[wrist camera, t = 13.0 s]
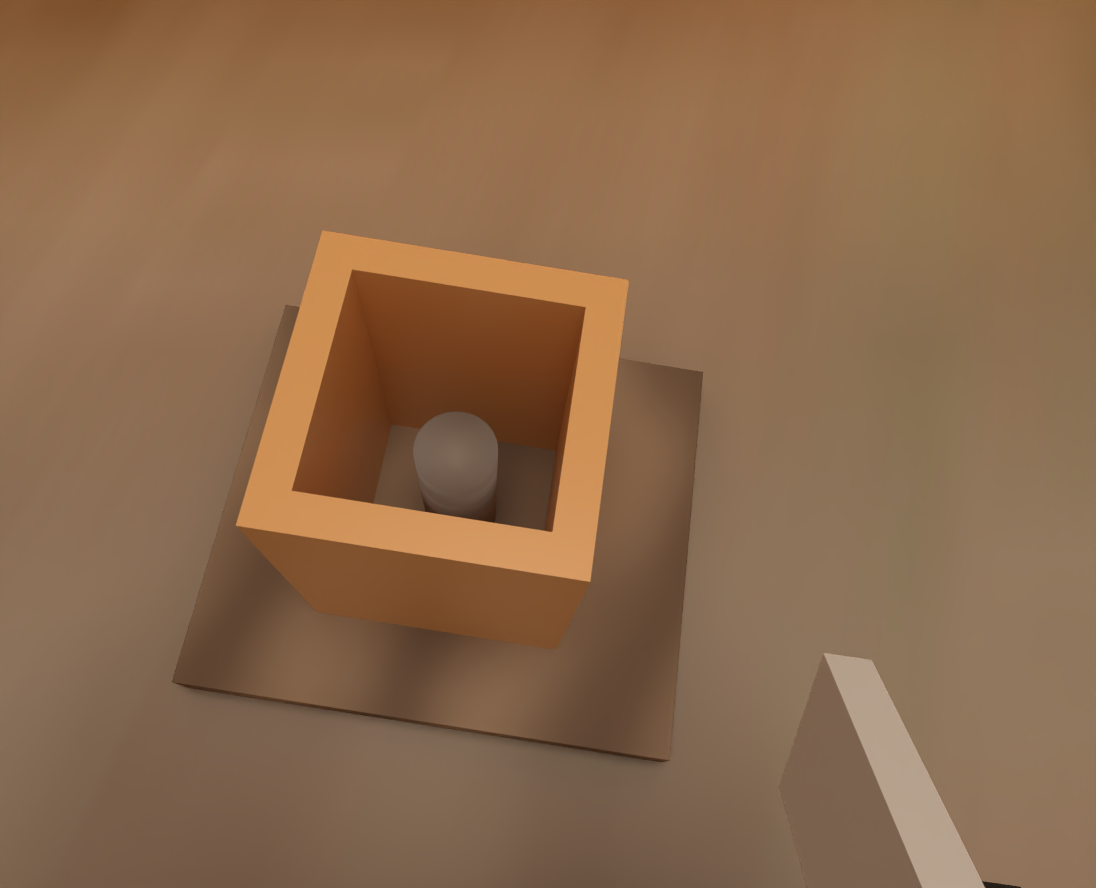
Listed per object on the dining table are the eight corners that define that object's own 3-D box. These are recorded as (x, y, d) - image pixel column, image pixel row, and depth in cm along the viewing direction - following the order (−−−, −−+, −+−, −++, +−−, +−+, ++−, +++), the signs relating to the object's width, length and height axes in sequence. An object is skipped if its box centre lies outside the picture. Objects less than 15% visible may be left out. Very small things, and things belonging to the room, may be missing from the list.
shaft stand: (186, 687, 29) (91, 654, 22) (294, 324, 34) (245, 205, 27) (660, 761, 29) (716, 752, 22) (694, 389, 34) (747, 286, 27)
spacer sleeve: (316, 611, 28) (235, 525, 19) (370, 395, 32) (322, 230, 22) (556, 650, 29) (590, 581, 19) (586, 430, 32) (628, 279, 22)
